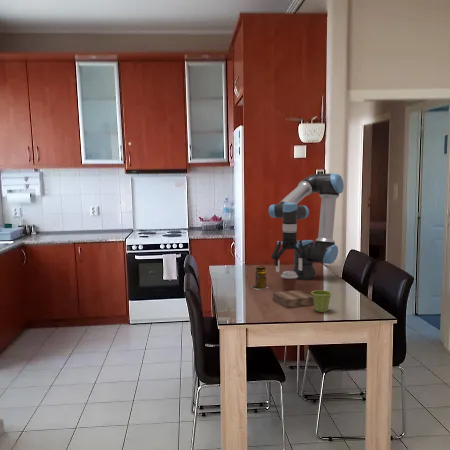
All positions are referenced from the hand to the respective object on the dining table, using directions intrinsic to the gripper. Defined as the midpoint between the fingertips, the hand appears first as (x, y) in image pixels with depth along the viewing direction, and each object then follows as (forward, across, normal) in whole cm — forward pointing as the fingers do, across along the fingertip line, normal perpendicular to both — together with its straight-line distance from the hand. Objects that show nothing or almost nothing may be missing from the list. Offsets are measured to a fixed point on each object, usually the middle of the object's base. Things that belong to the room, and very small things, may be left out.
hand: (289, 271), depth 245 cm
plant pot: (+13, 0, +32) cm, 34 cm away
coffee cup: (+13, 0, 0) cm, 13 cm away
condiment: (+13, +8, -19) cm, 25 cm away
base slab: (+13, +6, +15) cm, 20 cm away
